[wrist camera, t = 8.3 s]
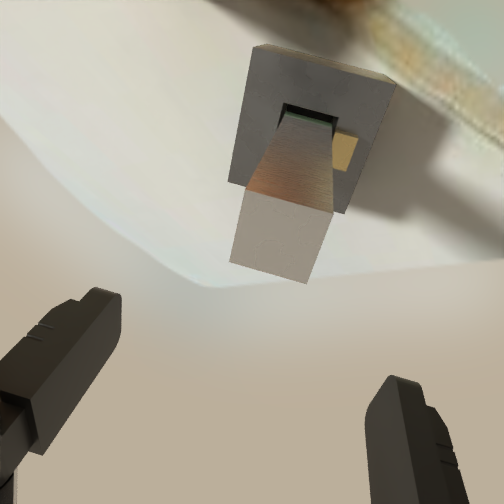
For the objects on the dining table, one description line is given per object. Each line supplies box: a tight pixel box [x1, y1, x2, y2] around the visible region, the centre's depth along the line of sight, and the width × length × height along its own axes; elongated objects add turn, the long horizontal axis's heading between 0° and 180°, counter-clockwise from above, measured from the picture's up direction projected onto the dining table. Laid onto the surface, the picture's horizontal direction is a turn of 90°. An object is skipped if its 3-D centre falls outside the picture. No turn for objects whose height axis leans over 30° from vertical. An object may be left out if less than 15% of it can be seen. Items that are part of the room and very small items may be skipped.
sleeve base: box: [228, 44, 396, 214], centre depth 35 cm, size 12×12×9 cm
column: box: [229, 111, 333, 284], centre depth 24 cm, size 4×4×18 cm
